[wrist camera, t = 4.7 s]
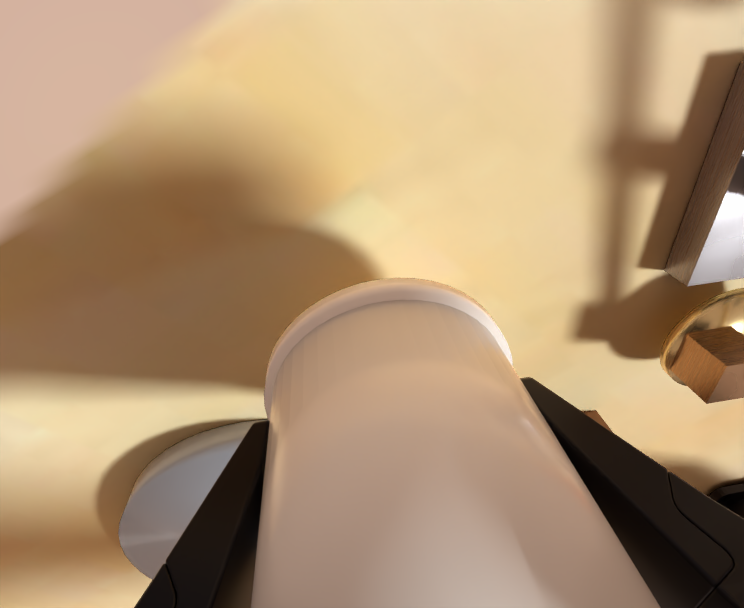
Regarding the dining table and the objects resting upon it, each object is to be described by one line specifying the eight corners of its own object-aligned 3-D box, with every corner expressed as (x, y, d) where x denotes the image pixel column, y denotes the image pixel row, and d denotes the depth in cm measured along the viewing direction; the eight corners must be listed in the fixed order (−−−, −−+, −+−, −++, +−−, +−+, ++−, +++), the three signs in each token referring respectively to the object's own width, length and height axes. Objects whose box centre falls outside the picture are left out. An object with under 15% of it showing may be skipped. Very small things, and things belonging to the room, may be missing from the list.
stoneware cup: (515, 259, 9) (831, 600, 4) (494, 437, 13) (636, 747, 7) (235, 300, 9) (110, 747, 3) (293, 471, 13) (280, 825, 7)
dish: (403, 396, 15) (409, 422, 14) (412, 550, 22) (417, 575, 21) (73, 449, 14) (55, 479, 13) (187, 591, 21) (181, 619, 20)
